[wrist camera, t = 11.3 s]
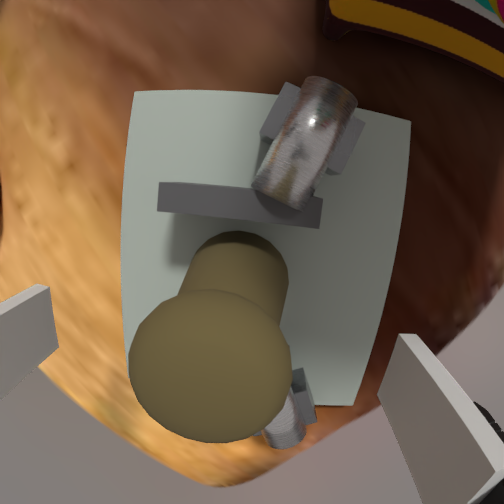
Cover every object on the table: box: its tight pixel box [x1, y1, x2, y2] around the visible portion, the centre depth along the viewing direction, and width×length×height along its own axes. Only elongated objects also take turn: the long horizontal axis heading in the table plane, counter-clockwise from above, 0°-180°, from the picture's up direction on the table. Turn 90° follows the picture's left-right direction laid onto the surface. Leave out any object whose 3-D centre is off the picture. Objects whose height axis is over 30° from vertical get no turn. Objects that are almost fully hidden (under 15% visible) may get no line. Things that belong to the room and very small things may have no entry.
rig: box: [121, 90, 411, 405], centre depth 17 cm, size 17×20×5 cm
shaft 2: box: [253, 367, 317, 449], centre depth 18 cm, size 5×4×4 cm
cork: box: [128, 230, 293, 443], centre depth 13 cm, size 6×6×11 cm
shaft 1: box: [251, 76, 366, 212], centre depth 14 cm, size 6×4×4 cm
